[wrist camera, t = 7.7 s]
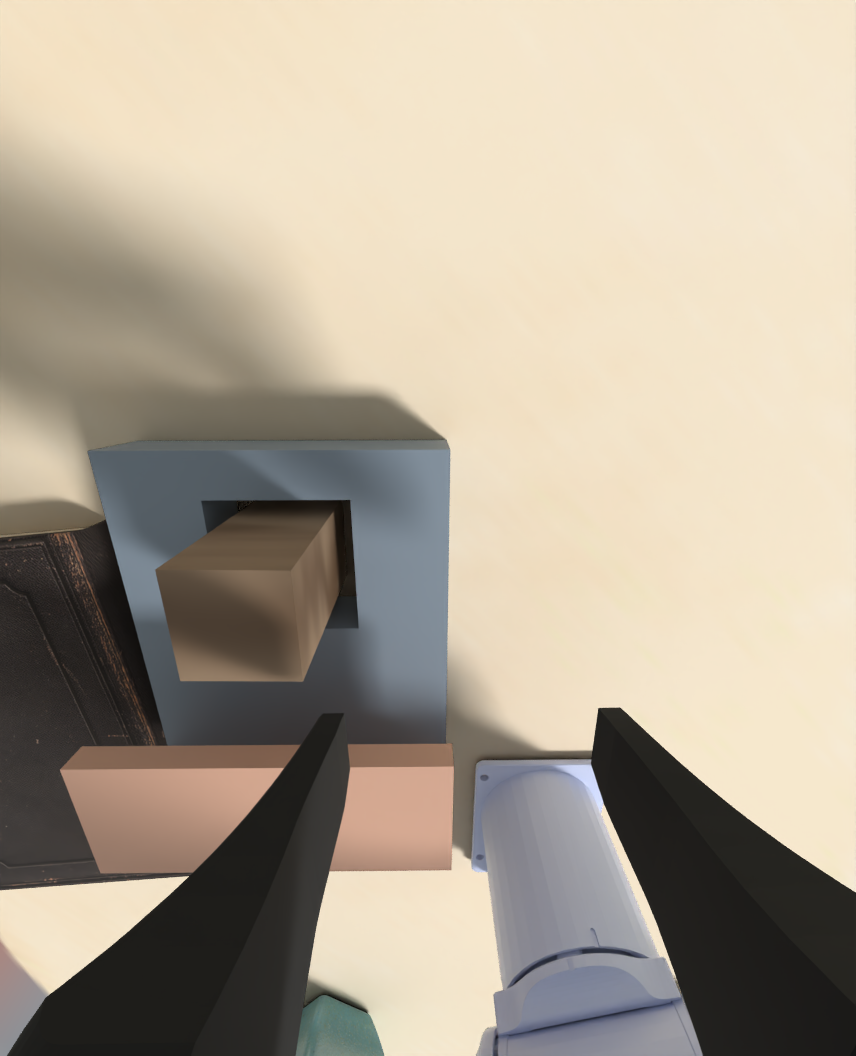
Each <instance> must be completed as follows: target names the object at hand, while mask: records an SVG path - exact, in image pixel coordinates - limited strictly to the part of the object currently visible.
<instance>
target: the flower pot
mask: <svg viewBox="0 0 856 1056" xmlns="http://www.w3.org/2000/svg"><path fill="white" fill-rule="evenodd" d="M296 1056H384V1053H383V1049H382V1046H381V1043H380V1040H379V1037H378V1034H377V1031H376V1029H375V1026H374V1024H373V1021H372V1019H371V1016H370V1015H369V1014H367V1013H365V1012H363V1011H361V1010H358V1009H356V1008H354V1007H352V1006H349V1005H347V1004H345V1003H343V1002H340V1001H338V1000H336V999H334V998H332V997H329V996H327V995H322V996H319V997H318V998H317V999H315V1000H314V1001H313V1002H311V1003H310V1004H309V1005H307V1006H306V1007H304V1008H303V1011H302V1017H301V1024H300V1030H299V1037H298V1043H297V1050H296Z"/></svg>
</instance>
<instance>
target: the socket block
mask: <svg viewBox="0 0 856 1056" xmlns="http://www.w3.org/2000/svg"><path fill="white" fill-rule="evenodd" d="M88 455H89V459H90V462H91V466H92V470H93V473H94V477H95V481H96V484H97V488H98V492H99V495H100V499H101V503H102V506H103V510H104V514H105V517H106V521H107V525H108V528H109V532H110V536H111V539H112V543H113V547H114V550H115V554H116V558H117V561H118V565H119V569H120V573H121V576H122V580H123V584H124V587H125V591H126V595H127V598H128V602H129V606H130V609H131V613H132V617H133V620H134V624H135V628H136V631H137V635H138V639H139V642H140V646H141V650H142V653H143V657H144V661H145V664H146V668H147V672H148V675H149V679H150V683H151V687H152V690H153V694H154V698H155V701H156V705H157V709H158V712H159V716H160V720H161V723H162V727H163V731H164V734H165V738H166V742H167V745H168V746H206V745H301V744H302V743H303V741H304V740H305V738H306V737H307V735H308V734H309V732H310V731H311V729H312V727H313V726H314V724H315V723H316V721H317V720H318V718H319V717H320V716H321V715H322V714H323V713H344V715H345V724H346V734H347V743H348V744H446V695H447V629H448V563H449V497H450V448H449V445H448V443H447V440H228V441H135V442H130V443H125V444H120V445H115V446H110V447H105V448H100V449H95V450H89V451H88ZM236 500H350V503H351V518H352V534H353V549H354V564H355V579H356V594H357V596H338V597H337V600H336V602H335V605H334V607H333V610H332V612H331V614H330V617H329V619H328V622H327V624H326V627H325V629H324V632H323V634H322V636H321V639H320V641H319V644H318V646H317V649H316V651H315V654H314V656H313V658H312V661H311V663H310V666H309V668H308V671H307V673H306V675H305V678H304V680H303V682H283V681H180V677H179V673H178V668H177V664H176V660H175V655H174V651H173V647H172V642H171V638H170V633H169V629H168V625H167V620H166V616H165V611H164V607H163V603H162V598H161V594H160V590H159V585H158V581H157V576H156V572H155V569H157V568H158V567H160V566H161V565H163V564H164V563H165V562H167V561H168V560H170V559H171V558H173V557H174V556H176V555H177V554H179V553H180V552H181V551H183V550H184V549H186V548H187V547H189V546H190V545H192V544H193V543H194V542H196V541H197V540H199V539H200V538H202V537H203V536H205V535H206V534H208V533H209V532H210V531H212V530H213V529H215V528H216V527H218V526H219V525H221V524H222V523H223V522H225V521H226V520H228V519H229V518H231V517H232V516H234V515H235V514H237V513H238V508H237V502H236Z"/></svg>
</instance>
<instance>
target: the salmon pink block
mask: <svg viewBox="0 0 856 1056" xmlns="http://www.w3.org/2000/svg"><path fill="white" fill-rule="evenodd" d="M299 747H300V745H206V746H82V747H81V748H80V749H79V750H78V751H77V752H76V753H75V754H74V755H73V756H72V757H71V758H70V760H69V761H68V762H67V763H66V764H65V765H64V766H63V767H62V768H61V769H60V772H61V774H62V777H63V779H64V782H65V784H66V787H67V789H68V792H69V794H70V797H71V800H72V802H73V805H74V807H75V810H76V812H77V815H78V817H79V820H80V822H81V825H82V828H83V830H84V833H85V835H86V838H87V840H88V843H89V845H90V848H91V850H92V853H93V856H94V858H95V861H96V863H97V866H98V868H99V871H100V873H193V872H194V871H195V870H196V869H197V868H198V867H199V866H200V865H201V864H202V863H203V862H204V861H205V860H206V859H207V858H208V857H209V856H210V855H211V854H212V853H213V852H214V851H215V850H216V849H217V848H218V847H219V846H220V844H221V843H222V842H223V841H224V840H225V839H226V838H227V837H228V836H229V835H230V834H231V833H232V831H233V830H234V829H235V828H236V827H237V826H238V825H239V824H240V822H241V821H242V820H243V819H244V818H245V817H246V816H247V814H248V813H249V812H250V811H251V810H252V808H253V807H254V806H255V805H256V803H257V802H258V801H259V800H260V799H261V797H262V796H263V795H264V794H265V792H266V791H267V790H268V789H269V787H270V786H271V785H272V784H273V782H274V781H275V780H276V778H277V777H278V776H279V774H280V773H281V772H282V770H283V769H284V768H285V766H286V765H287V764H288V762H289V761H290V759H291V758H292V757H293V755H294V754H295V753H296V751H297V750H298V748H299ZM348 753H349V762H350V773H349V781H348V788H347V795H346V802H345V808H344V813H343V817H342V821H341V825H340V829H339V833H338V838H337V842H336V846H335V850H334V854H333V858H332V862H331V866H330V870H329V871H408V870H451V864H452V822H453V780H454V762H453V749H452V744H348Z"/></svg>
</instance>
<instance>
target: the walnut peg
mask: <svg viewBox="0 0 856 1056" xmlns="http://www.w3.org/2000/svg"><path fill="white" fill-rule="evenodd" d="M155 572H156V576H157V581H158V585H159V590H160V594H161V598H162V603H163V607H164V611H165V616H166V620H167V625H168V629H169V633H170V638H171V642H172V647H173V651H174V655H175V660H176V664H177V668H178V673H179V677H180V681H283V682H303V680H304V678H305V675H306V673H307V671H308V668H309V666H310V663H311V661H312V658H313V656H314V654H315V651H316V649H317V646H318V644H319V641H320V639H321V636H322V634H323V632H324V629H325V627H326V624H327V622H328V619H329V617H330V614H331V612H332V610H333V607H334V605H335V602H336V600H337V597H338V595H339V593H340V590H341V588H342V585H343V583H344V580H345V578H346V575H347V571H346V555H345V538H344V522H343V505H342V500H255V501H254V502H253V503H251V504H250V505H248V506H247V507H245V508H244V509H242V510H241V511H239V512H238V513H237V514H235V515H234V516H232V517H231V518H229V519H228V520H226V521H225V522H223V523H222V524H221V525H219V526H218V527H216V528H215V529H213V530H212V531H210V532H209V533H208V534H206V535H205V536H203V537H202V538H200V539H199V540H197V541H196V542H194V543H193V544H192V545H190V546H189V547H187V548H186V549H184V550H183V551H181V552H180V553H179V554H177V555H176V556H174V557H173V558H171V559H170V560H168V561H167V562H165V563H164V564H163V565H161V566H160V567H158V568H157V569H155Z"/></svg>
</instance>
